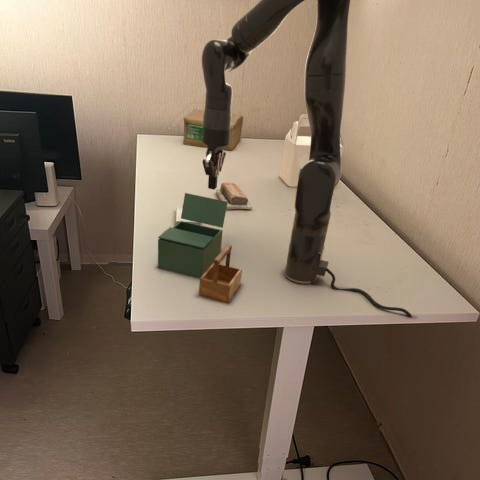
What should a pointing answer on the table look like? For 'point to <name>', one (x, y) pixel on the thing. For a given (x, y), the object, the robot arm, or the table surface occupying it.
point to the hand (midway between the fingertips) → (212, 188)
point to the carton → (189, 248)
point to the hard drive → (178, 219)
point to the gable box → (296, 151)
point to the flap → (204, 210)
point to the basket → (220, 278)
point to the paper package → (195, 129)
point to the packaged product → (233, 196)
